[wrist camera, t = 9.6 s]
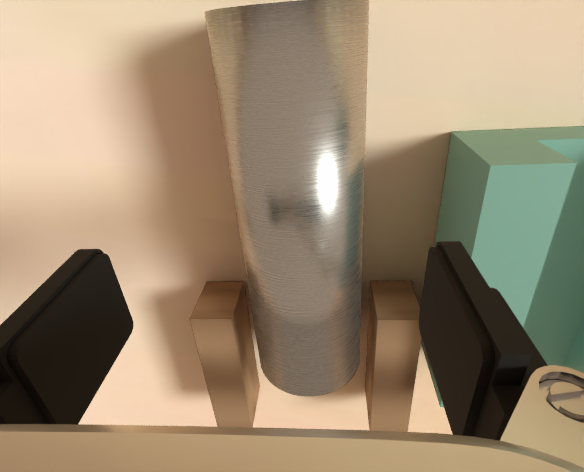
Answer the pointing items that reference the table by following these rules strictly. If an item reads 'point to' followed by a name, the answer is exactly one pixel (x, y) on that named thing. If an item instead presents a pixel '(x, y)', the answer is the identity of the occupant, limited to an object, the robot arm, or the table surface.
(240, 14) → the steel axle
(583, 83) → the table surface
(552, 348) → the teal V-block
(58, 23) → the table surface
